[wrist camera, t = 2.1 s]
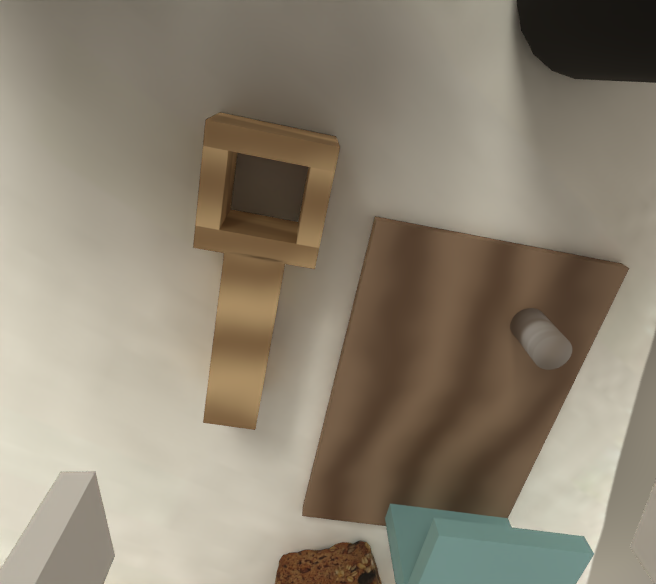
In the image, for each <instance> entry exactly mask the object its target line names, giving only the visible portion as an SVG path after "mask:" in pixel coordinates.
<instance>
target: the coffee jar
mask: <svg viewBox="0 0 656 584" xmlns="http://www.w3.org/2000/svg"><path fill="white" fill-rule="evenodd" d="M517 6H518V12H519V19H520V25H521V31H522V33H523V34H524V36H525V38H526V40H527V42H528V44H529V46H530V48H531V50H532V52H533V54H534V55H535V56H536V57H537V58H539V59H540V60H541V61H542V62H543V63H544V64H545V65H546V66H548V67H549V68H550V69H551V70H552V71H555V72H557V73H560V74H563V75H566V76H569V77H571V78H574V79H590V80H611V81H632V82H654V83H656V0H517Z"/></svg>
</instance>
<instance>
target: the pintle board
mask: <svg viewBox="0 0 656 584" xmlns="http://www.w3.org/2000/svg"><path fill="white" fill-rule="evenodd" d="M628 270H629V268H628V267H626V266H625V265H623V264H621V263H616V262H610V261H605V260H600V259H595V258H589V257H584V256H579V255H574V254H569V253H563V252H558V251H553V250H548V249H543V248H537V247H532V246H527V245H522V244H516V243H511V242H506V241H501V240H496V239H490V238H485V237H480V236H475V235H469V234H464V233H459V232H454V231H449V230H443V229H438V228H433V227H428V226H423V225H417V224H412V223H407V222H402V221H396V220H391V219H386V218H381V217H376V216H375V218H374V222H373V226H372V230H371V234H370V239H369V243H368V247H367V251H366V255H365V259H364V263H363V267H362V271H361V275H360V279H359V283H358V287H357V291H356V295H355V299H354V303H353V307H352V311H351V315H350V319H349V323H348V327H347V331H346V335H345V339H344V343H343V347H342V351H341V355H340V359H339V363H338V367H337V371H336V375H335V379H334V383H333V387H332V391H331V395H330V399H329V403H328V407H327V411H326V415H325V419H324V423H323V428H322V432H321V436H320V440H319V444H318V448H317V452H316V456H315V460H314V464H313V468H312V472H311V476H310V480H309V484H308V488H307V492H306V496H305V500H304V504H303V513H302V516H307V517H316V518H324V519H332V520H341V521H349V522H357V523H365V524H374V525H382V526H386V521H385V517H386V514H387V511H388V508H389V505H390V504H398V505H406V506H414V507H422V508H430V509H438V510H446V511H454V512H461V513H469V514H477V515H485V516H493V517H501V518H508V516H509V514H510V512H511V510H512V508H513V506H514V504H515V502H516V500H517V498H518V496H519V494H520V492H521V490H522V488H523V486H524V483H525V481H526V479H527V477H528V475H529V473H530V471H531V469H532V467H533V465H534V463H535V461H536V459H537V457H538V455H539V453H540V451H541V449H542V446H543V444H544V442H545V440H546V438H547V436H548V434H549V432H550V430H551V428H552V426H553V424H554V422H555V420H556V418H557V416H558V414H559V412H560V409H561V407H562V405H563V403H564V401H565V399H566V397H567V395H568V393H569V391H570V389H571V387H572V385H573V383H574V381H575V379H576V377H577V374H578V372H579V370H580V368H581V366H582V364H583V362H584V360H585V358H586V356H587V354H588V352H589V350H590V348H591V346H592V344H593V342H594V340H595V337H596V335H597V333H598V331H599V329H600V327H601V325H602V323H603V321H604V319H605V317H606V315H607V313H608V311H609V309H610V307H611V305H612V303H613V300H614V298H615V296H616V294H617V292H618V290H619V288H620V286H621V284H622V282H623V280H624V278H625V276H626V274H627V272H628Z"/></svg>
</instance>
